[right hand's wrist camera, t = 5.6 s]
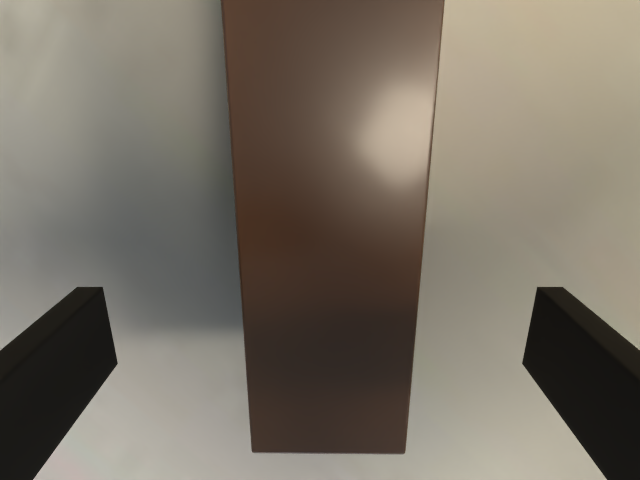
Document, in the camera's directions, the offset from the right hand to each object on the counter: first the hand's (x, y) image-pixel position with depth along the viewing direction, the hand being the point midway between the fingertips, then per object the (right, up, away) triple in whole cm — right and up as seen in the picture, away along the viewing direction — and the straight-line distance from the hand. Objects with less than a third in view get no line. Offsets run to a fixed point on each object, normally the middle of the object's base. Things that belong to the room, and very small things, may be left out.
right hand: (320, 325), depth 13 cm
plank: (0, +14, +3) cm, 15 cm away
